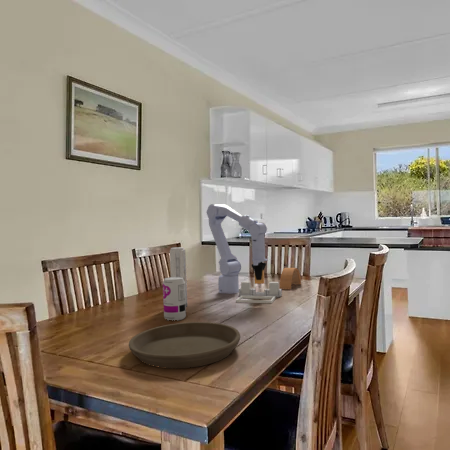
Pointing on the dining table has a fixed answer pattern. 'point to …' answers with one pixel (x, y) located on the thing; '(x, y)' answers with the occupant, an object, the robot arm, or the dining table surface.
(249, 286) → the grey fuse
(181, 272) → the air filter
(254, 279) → the block
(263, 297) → the tray
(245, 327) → the dining table surface
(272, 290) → the block
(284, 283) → the arch
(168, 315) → the supplement can
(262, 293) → the fuse block
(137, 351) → the plant saucer
